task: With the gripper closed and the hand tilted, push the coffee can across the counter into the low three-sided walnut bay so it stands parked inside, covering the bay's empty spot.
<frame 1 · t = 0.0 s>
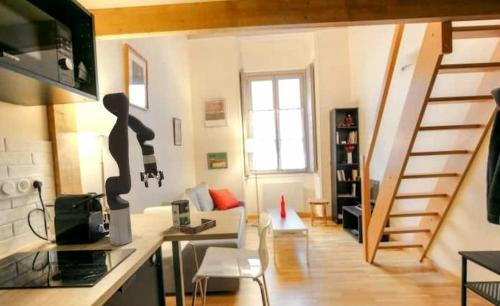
hand: (153, 187, 175), 22 cm above the worktop, tool pointing down, fingers open, 8 cm apart
walnut bay: (197, 227, 156), on the worktop
coffee can: (182, 225, 164), on the worktop
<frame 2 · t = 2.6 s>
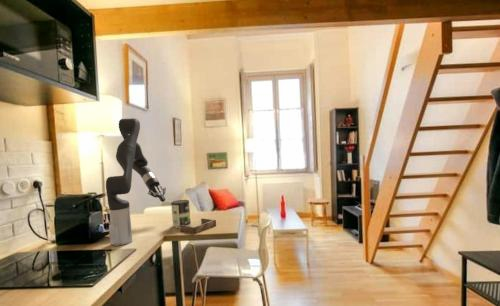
hand: (163, 200, 173), 14 cm above the worktop, tool tilted 45°, fingers closed
nothing on the worktop moved.
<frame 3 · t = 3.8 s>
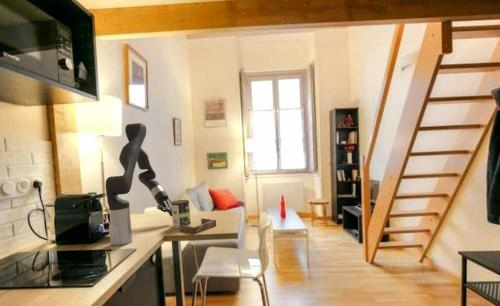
hand: (173, 215, 169), 5 cm above the worktop, tool tilted 45°, fingers closed
nothing on the worktop moved.
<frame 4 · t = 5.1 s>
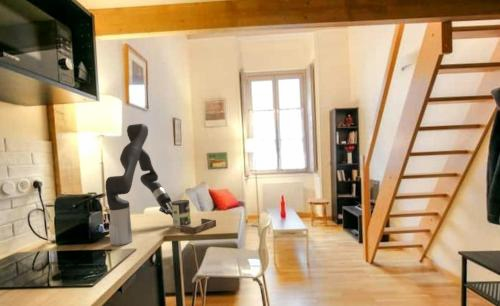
hand: (175, 217, 167), 4 cm above the worktop, tool tilted 45°, fingers closed
coffee can: (182, 225, 164), on the worktop, touching gripper
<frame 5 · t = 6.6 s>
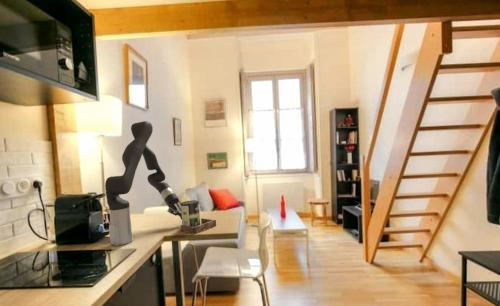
hand: (184, 219, 163), 4 cm above the worktop, tool tilted 45°, fingers closed
coffee can: (191, 226, 160), on the worktop, touching gripper
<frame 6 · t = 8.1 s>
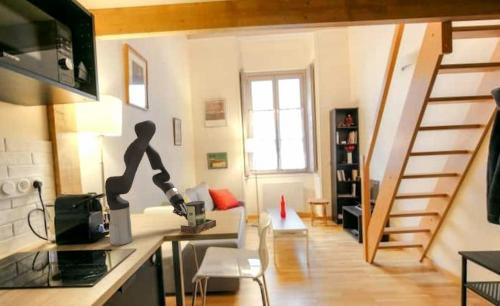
hand: (190, 219, 160), 4 cm above the worktop, tool tilted 45°, fingers closed
coffee can: (197, 227, 157), on the worktop, touching gripper
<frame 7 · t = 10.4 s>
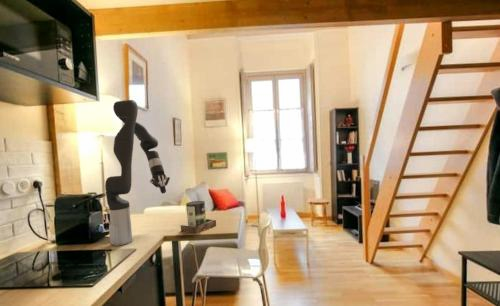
hand: (164, 192, 167), 19 cm above the worktop, tool tilted 25°, fingers closed
coffee can: (197, 227, 157), on the worktop
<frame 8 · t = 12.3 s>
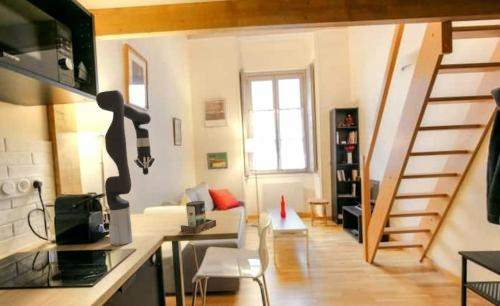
hand: (145, 174, 169), 31 cm above the worktop, tool pointing down, fingers closed
nothing on the worktop moved.
at the end: coffee can 0.7 cm off-centre on the walnut bay, point 0.0 cm above the walnut bay's base; coffee can tilted 0° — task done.
